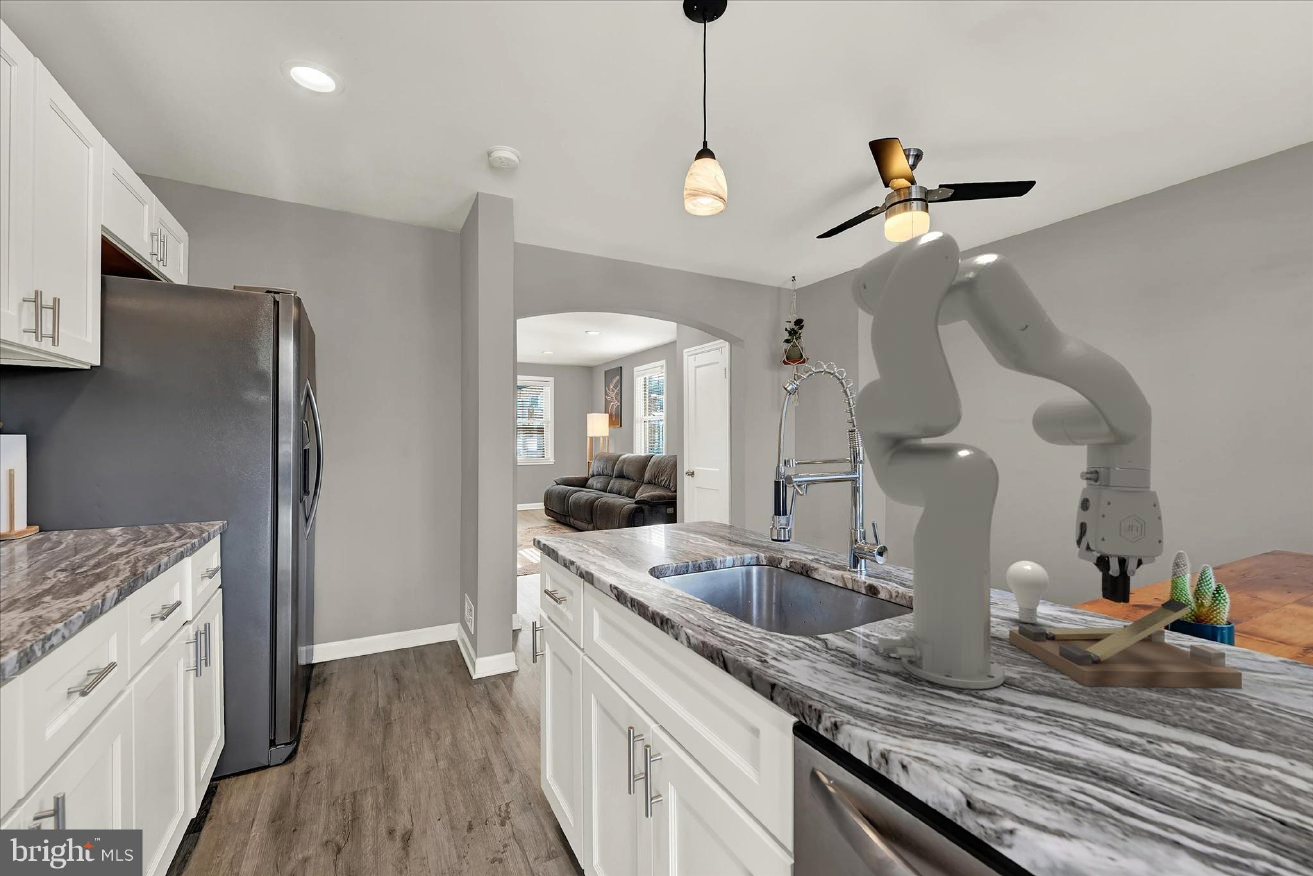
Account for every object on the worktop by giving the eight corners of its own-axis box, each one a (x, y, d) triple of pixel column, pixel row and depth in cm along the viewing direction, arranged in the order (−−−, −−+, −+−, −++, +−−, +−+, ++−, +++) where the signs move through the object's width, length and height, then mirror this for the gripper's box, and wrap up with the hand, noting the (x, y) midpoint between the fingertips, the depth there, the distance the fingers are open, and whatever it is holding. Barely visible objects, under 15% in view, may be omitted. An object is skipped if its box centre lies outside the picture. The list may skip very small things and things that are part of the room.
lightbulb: (1058, 629, 94) (1058, 565, 94) (1021, 629, 94) (1020, 564, 94) (1033, 618, 100) (1033, 557, 100) (998, 617, 100) (998, 557, 101)
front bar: (1095, 665, 74) (1090, 658, 74) (1081, 658, 77) (1077, 651, 77) (1191, 611, 74) (1187, 604, 74) (1174, 606, 76) (1170, 599, 76)
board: (1085, 686, 72) (1084, 656, 72) (1009, 642, 88) (1009, 618, 88) (1241, 688, 71) (1241, 658, 72) (1137, 643, 87) (1136, 619, 88)
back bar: (1048, 639, 83) (1048, 632, 83) (1037, 634, 86) (1037, 627, 86) (1147, 637, 83) (1147, 630, 83) (1134, 632, 85) (1134, 625, 85)
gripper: (1086, 479, 81) (1084, 605, 80) (1190, 483, 80) (1188, 609, 80) (1050, 477, 88) (1048, 592, 88) (1146, 480, 88) (1144, 596, 88)
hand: (1115, 600), depth 84 cm, fingers closed
